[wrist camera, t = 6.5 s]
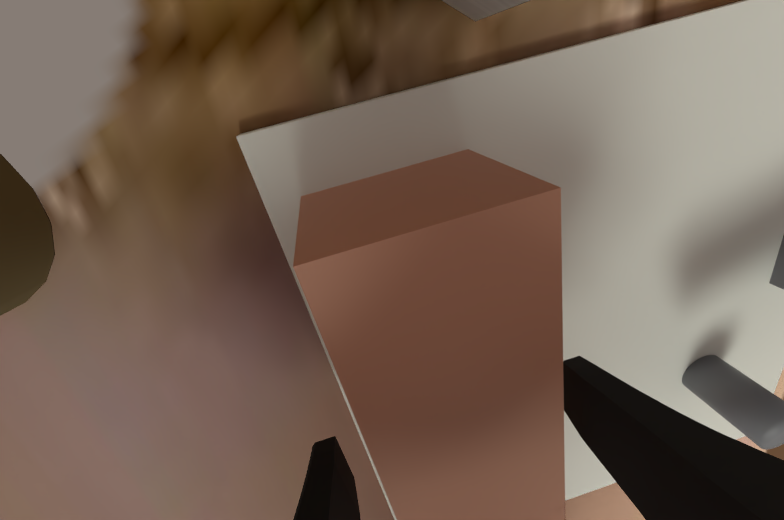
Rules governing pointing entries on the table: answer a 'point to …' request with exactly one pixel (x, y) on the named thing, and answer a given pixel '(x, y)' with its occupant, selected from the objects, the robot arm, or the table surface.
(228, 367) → the table surface
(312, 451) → the robot arm
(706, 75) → the board
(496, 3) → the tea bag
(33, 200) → the cork
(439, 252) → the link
